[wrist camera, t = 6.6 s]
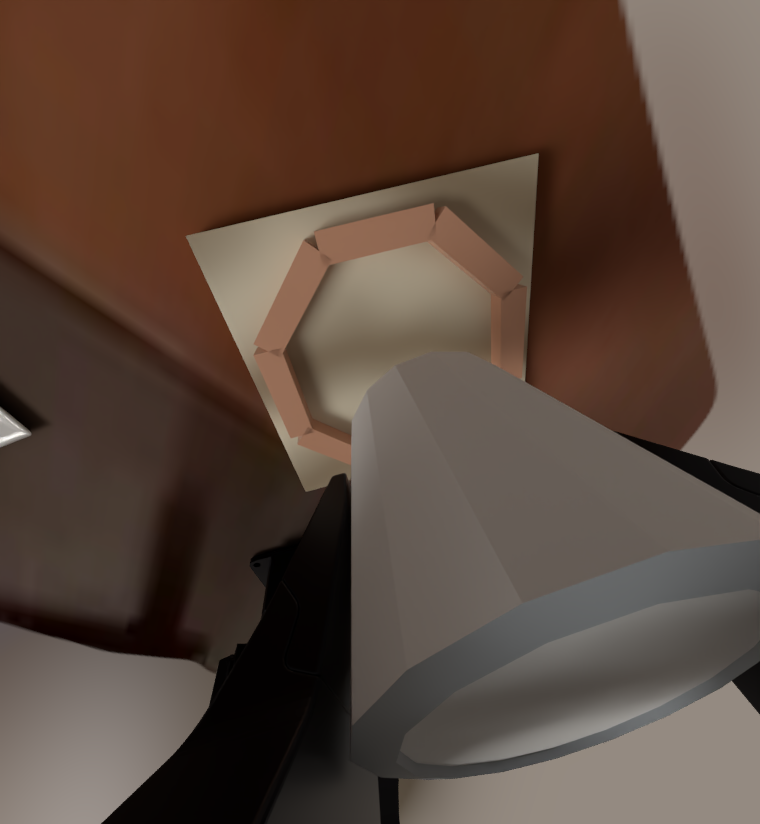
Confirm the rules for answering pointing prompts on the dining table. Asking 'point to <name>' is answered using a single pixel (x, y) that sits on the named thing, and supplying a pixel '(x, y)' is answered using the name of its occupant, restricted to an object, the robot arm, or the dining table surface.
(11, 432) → the dessert
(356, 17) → the dining table surface
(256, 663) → the robot arm
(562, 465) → the shot glass
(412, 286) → the serving board
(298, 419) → the coaster ring
